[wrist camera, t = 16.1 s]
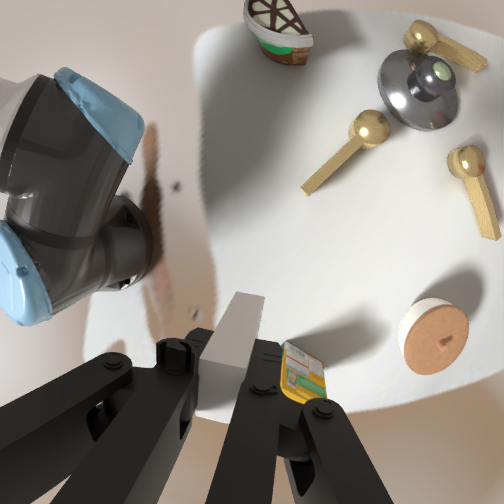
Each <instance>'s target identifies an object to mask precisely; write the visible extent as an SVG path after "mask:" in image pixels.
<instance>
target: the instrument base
mask: <svg viewBox="0 0 504 504" xmlns="http://www.w3.org/2000/svg"><path fill="white" fill-rule="evenodd" d="M403 40H404V43H405V45H406V46H407V48H408V49H409V50H398V51H395V52H393V53H392V54H390V55H389V56H388V57H387V58H386V59H385V61H384V62H383V64H382V65H381V67H380V69H379V72H378V88H379V91H380V94H381V97H382V99H383V101H384V103H385V104H386V106H387V107H388V109H389V110H390V111H391V112H392V114H393V115H394V116H395V117H396V118H397V119H399V120H400V121H401V122H403V123H404V124H405V125H407V126H409V127H411V128H413V129H416V130H420V131H435V130H437V129H440V128H442V127H445V126H446V125H448V124H449V123H450V122H451V121H452V120H453V119H454V117H455V114H456V111H457V94H456V91H455V87H454V86H455V83H456V79H455V75H454V72H453V70H452V69H451V67H450V66H449V65H448V64H447V63H446V62H445V61H444V60H442V59H440V58H438V57H435V56H430V57H429V56H427V55H425V54H426V53H427V52H428V51H432V52H434V53H436V54H439V55H441V56H443V57H445V58H448V59H450V60H452V61H454V62H456V63H458V64H460V65H462V66H464V67H466V68H468V69H470V70H472V71H473V72H475V73H476V72H478V71H479V70H481V69H483V68H484V67H486V66H487V60H486V58H484V57H482V56H481V55H479V54H477V53H475V52H474V51H472V50H470V49H468V48H466V47H464V46H462V45H461V44H459V43H457V42H455V41H453V40H451V39H448V38H446V37H444V36H442V35H440V34H438V33H437V31H436V30H435V28H434V27H433V26H432V25H430V24H429V23H427V22H425V21H422V20H416V21H415V22H414V23H413V24H412V26H411V27H410V28H409V30H408V31H407V32H406V34H405V35H404V38H403Z"/></svg>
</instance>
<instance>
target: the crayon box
mask: <svg viewBox="0 0 504 504" xmlns="http://www.w3.org/2000/svg"><path fill="white" fill-rule="evenodd" d="M281 348H282V349H283V353H282V368H281V381H280V386H281V390H282V392H283V393H284V394H285V395H286V396H287V397H289V398H290V399H292V400H294V401H297V402H299V403H302V404H305V402H306V401H308V400H310V399H313V398H326V399H327V394H326V386H325V379H324V371H323V364H322V362H321V361H319V360H317V359H315V358H313V357H312V356H310V355H308V354H307V353H305V352H303V351H302V350H300V349H298V348H297V347H295V346H293V345H292V344H290V343H288V342H287V341H285V342H284V343H283V344H282V345H281Z"/></svg>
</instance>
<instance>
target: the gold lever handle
mask: <svg viewBox="0 0 504 504" xmlns="http://www.w3.org/2000/svg"><path fill="white" fill-rule="evenodd" d="M447 164H448V168H449V170H450V172H451V173H452V174H453V175H454V176H455V177H457V178H462V179H463V181H464V184H465V186H466V189H467V192H468V195H469V197H470V200H471V203H472V206H473V209H474V212H475V215H476V219H477V222H478V225H479V229H480V232H481V236H482V237H484V238H487V239H491V240H494V241H497V240H498V239H499V238H501V233H500V229H499V225H498V221H497V217H496V213H495V210H494V206H493V203H492V200H491V197H490V194H489V191H488V188H487V185H486V182H485V179H484V176H483V172H484V170H485V160H484V156H483V154H482V152H481V151H480V150H479V149H478V148H477V147H475V146H467V147H463V148H459V149H455V150H452V151H451V152H450V153H449V155H448V158H447Z"/></svg>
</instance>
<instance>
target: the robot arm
mask: <svg viewBox="0 0 504 504" xmlns="http://www.w3.org/2000/svg"><path fill="white" fill-rule="evenodd" d="M144 129H145V125H144V121H143V118H142V117H141V115H140V114H139V113H138V112H136V111H135V110H134V109H133V108H131V107H130V106H128V105H127V104H126V103H124V102H123V101H122V100H120V99H119V98H117V97H116V96H114V95H113V94H111V93H110V92H108V91H107V90H105V89H104V88H102V87H100V86H98V85H97V84H95V83H94V82H92V81H90V80H89V79H87V78H85V77H83V76H81V75H80V74H78V73H76V72H74V71H73V70H71V69H69V68H67V67H63V68H61V69H60V70H59V71H57V72H56V73H55V74H54V79H52V78H49V77H46V76H44V75H41V74H36V75H34V76H32V77H30V78H29V79H27V80H25V81H23V82H20V83H15V82H12V81H9V80H5V79H2V78H0V192H2V193H5V194H8V195H9V198H8V202H7V207H6V211H5V216H4V219H3V220H0V308H1V309H2V310H3V312H4V313H5V314H6V315H7V316H8V317H9V318H10V319H11V320H12V321H14V322H15V323H17V324H19V325H22V326H33V325H35V324H38V323H40V322H43V321H47V320H49V319H50V318H51V317H52V316H53V315H55V314H57V313H59V312H60V311H62V310H64V309H66V308H67V307H69V306H71V305H73V304H75V303H76V302H78V301H80V300H82V299H83V298H85V297H87V296H89V295H91V294H92V293H94V292H96V291H120V290H123V289H126V288H128V287H130V286H131V285H133V284H135V283H136V282H138V281H139V280H140V279H141V278H142V277H143V275H144V274H145V272H146V271H147V269H148V267H149V264H150V261H151V256H152V236H151V231H150V228H149V225H148V222H147V220H146V218H145V216H144V215H143V213H142V212H141V210H140V209H139V208H138V207H137V206H136V205H135V204H134V203H133V202H131V201H130V200H128V199H127V198H124V197H122V196H118V195H115V193H116V191H117V189H118V187H119V185H120V183H121V180H122V178H123V176H124V174H125V172H126V170H127V168H128V166H129V165H131V164H132V161H133V160H132V158H133V156H134V153H135V151H136V149H137V147H138V144H139V142H140V140H141V138H142V136H143V134H144ZM264 299H265V297H263V296H258V295H252V294H247V293H242V292H236V293H235V295H234V297H233V299H232V300H231V302H230V304H229V306H228V308H227V309H226V311H225V313H224V315H223V317H222V318H221V320H220V322H219V324H218V326H217V327H216V329H215V331H211V330H207V329H203V328H196V329H194V330H192V331H190V332H189V333H188V334H187V336H186V337H185V339H184V340H183V339H178V338H167V339H163V340H160V341H159V342H157V343H156V362H157V364H156V365H155V366H154V368H141V367H133V366H132V362H131V359H130V358H129V357H128V356H126V355H124V354H121V353H117V352H108V353H104V354H101V355H99V356H97V357H95V358H93V359H92V360H90V361H88V362H86V363H84V364H82V365H80V366H78V367H77V368H75V369H73V370H71V371H69V372H67V373H66V374H63V375H62V376H60V377H58V378H56V379H54V380H52V381H51V382H48V383H46V384H44V385H43V386H41V387H39V388H37V389H35V390H33V391H31V392H29V393H27V394H25V395H23V396H21V397H19V398H18V399H16V400H14V401H12V402H10V403H8V404H6V405H4V406H2V407H0V504H30V503H32V502H33V501H35V500H36V499H38V498H39V497H41V496H42V495H43V494H45V493H46V492H48V491H49V490H51V489H52V488H53V487H55V486H56V485H58V484H59V483H60V482H62V481H63V480H64V479H66V478H67V477H68V476H70V475H71V474H72V475H71V476H70V477H69V479H68V480H67V481H66V483H65V484H64V485H63V487H62V488H61V489H60V491H59V492H58V493H57V495H56V496H55V497H54V499H53V500H52V501H51V503H50V504H157V502H158V500H159V497H160V495H161V493H162V491H163V489H164V486H165V484H166V482H167V480H168V478H169V476H170V473H171V471H172V469H173V467H174V464H175V462H176V460H177V458H178V455H179V453H180V451H181V449H182V446H183V444H184V442H185V440H186V437H187V435H188V433H189V430H190V428H191V426H192V416H193V413H194V411H195V409H196V416H198V417H203V418H206V419H210V420H214V421H218V422H223V423H227V424H229V427H228V431H227V434H226V437H225V441H224V445H223V447H222V451H221V454H220V457H219V461H218V464H217V467H216V470H215V474H214V477H213V480H212V483H211V486H210V490H209V493H208V496H207V499H206V502H205V504H271V502H272V494H273V484H274V476H275V475H274V474H275V467H276V456H277V455H278V456H281V457H283V458H284V463H285V467H286V471H287V474H288V478H289V482H290V486H291V490H292V494H293V497H294V501H295V504H394V503H393V501H392V499H391V498H390V496H389V494H388V492H387V490H386V488H385V487H384V484H383V483H382V481H381V479H380V477H379V475H378V473H377V471H376V470H375V468H374V466H373V464H372V462H371V460H370V458H369V456H368V454H367V453H366V451H365V449H364V447H363V445H362V443H361V442H360V440H359V438H358V436H357V434H356V432H355V431H354V428H353V427H352V425H351V423H350V421H349V419H348V417H347V416H346V414H345V412H344V410H343V409H342V407H341V406H340V405H339V404H338V403H336V402H334V401H333V400H330V399H326V398H313V399H310V400H308V401H306V402H305V404H302V403H299V402H297V401H294V400H292V399H290V398H289V397H287V396H286V395H285V394H284V393H283V392H282V390H281V386H280V381H281V368H282V353H283V349H282V348H281V346H280V345H279V343H277V342H271V341H266V340H260V339H257V338H258V332H259V327H260V321H261V316H262V310H263V304H264ZM100 402H102V403H101V404H100V405H97V404H99V403H100ZM96 405H97V406H96Z"/></svg>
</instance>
